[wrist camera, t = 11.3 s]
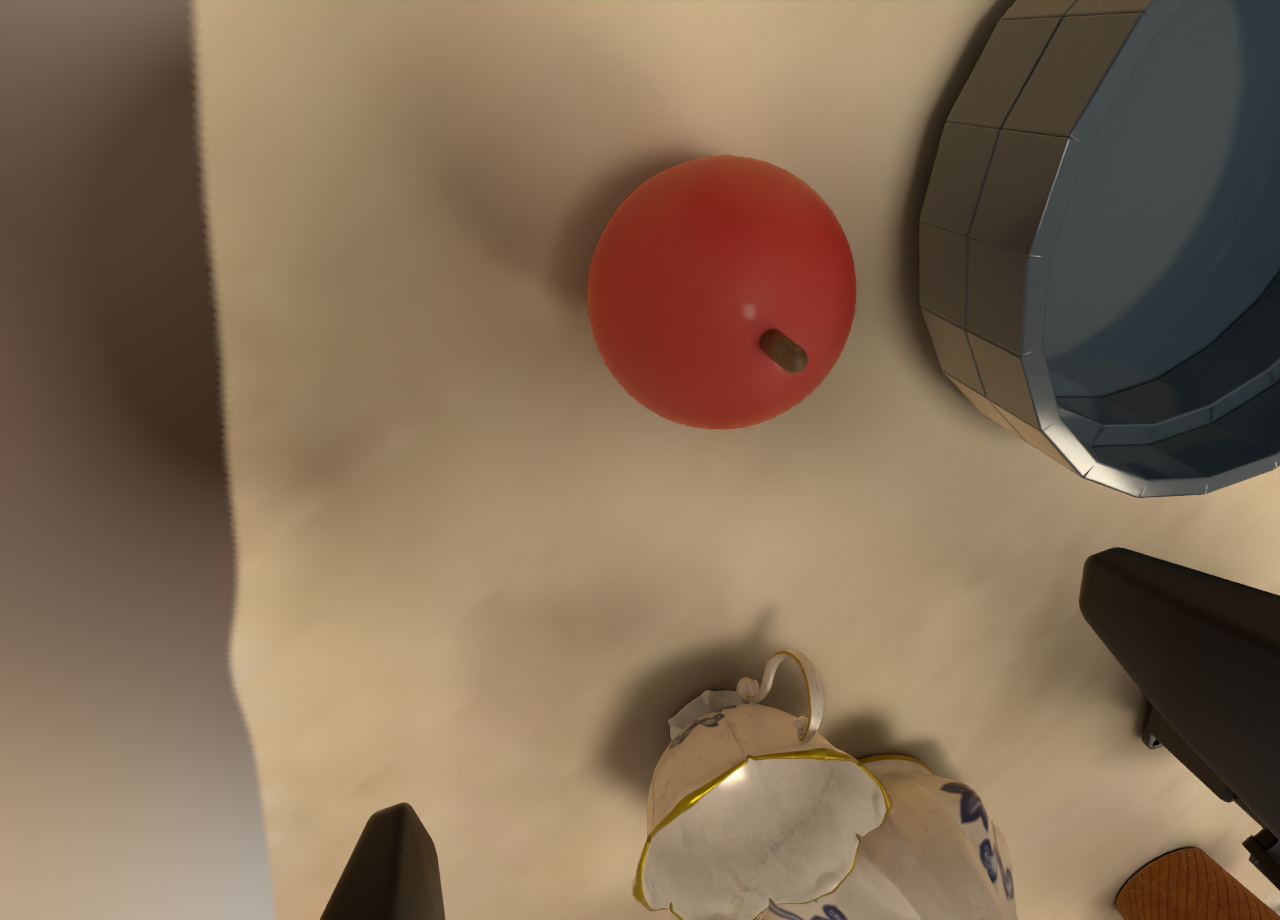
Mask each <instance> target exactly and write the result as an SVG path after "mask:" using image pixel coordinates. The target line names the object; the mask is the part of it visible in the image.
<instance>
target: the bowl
mask: <svg viewBox="0 0 1280 920" xmlns="http://www.w3.org/2000/svg"><path fill="white" fill-rule="evenodd" d="M946 121H947V122H945V124H944V128H943V132H942V136H941V139H940V143H939V147H938V151H937V154H936V158H935V162H934V166H933V169H932V173H931V177H930V181H929V185H928V188H927V192H926V196H925V200H924V203H923V207H922V211H921V215H920V221H919V298H920V308H921V311H922V314H923V317H924V319H925V322H926V325H927V328H928V331H929V334H930V336H931V339H932V342H933V345H934V348H935V351H936V353H937V356H938V359H939V362H940V365H941V368H942V370H943V372H944V373H945V375H946V376H947V377H948V378H949V379H950V380H951V381H952V382H953V383H954V384H955V385H956V386H957V387H958V388H959V389H960V391H961V392H962V393H963V394H964V395H965V396H966V397H967V398H968V399H969V400H970V401H971V402H972V403H973V404H974V405H975V406H976V408H977V409H978V410H979V411H980V412H981V413H982V414H984V415H985V416H987V417H988V418H990V419H991V420H993V421H994V422H996V423H998V424H999V425H1001V426H1002V427H1004V428H1005V429H1007V430H1008V431H1010V432H1012V433H1013V434H1015V435H1016V436H1018V437H1019V438H1021V439H1022V440H1024V441H1025V442H1027V443H1029V444H1030V445H1032V446H1033V447H1035V448H1037V449H1038V450H1040V451H1041V452H1043V453H1044V454H1046V455H1047V456H1049V457H1050V458H1052V459H1054V460H1055V461H1057V462H1058V463H1060V464H1061V465H1063V466H1064V467H1066V468H1067V469H1069V470H1071V471H1072V472H1074V473H1075V474H1077V475H1078V476H1080V477H1081V478H1084V479H1086V480H1089V481H1092V482H1095V483H1097V484H1100V485H1103V486H1106V487H1108V488H1111V489H1114V490H1117V491H1119V492H1122V493H1125V494H1127V495H1130V496H1133V497H1138V498H1146V497H1165V496H1184V495H1201V494H1207V493H1210V492H1213V491H1215V490H1218V489H1221V488H1224V487H1227V486H1230V485H1232V484H1235V483H1238V482H1241V481H1244V480H1247V479H1249V478H1252V477H1255V476H1258V475H1261V474H1264V473H1266V472H1269V471H1272V470H1274V469H1275V468H1277V467H1279V466H1280V0H1016V1H1015V2H1014V4H1013V5H1012V6H1011V7H1010V8H1009V9H1008V10H1007V11H1006V13H1005V14H1004V15H1003V16H1002V17H1001V19H1000V21H999V22H998V24H997V25H996V27H995V29H994V31H993V33H992V35H991V37H990V39H989V40H988V42H987V44H986V46H985V48H984V50H983V52H982V53H981V55H980V57H979V59H978V61H977V63H976V65H975V67H974V68H973V70H972V72H971V74H970V76H969V78H968V80H967V82H966V83H965V85H964V87H963V89H962V91H961V93H960V95H959V97H958V98H957V100H956V102H955V104H954V106H953V108H952V110H951V112H950V113H949V115H948V117H947V119H946Z"/></svg>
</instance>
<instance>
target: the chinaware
mask: <svg viewBox="0 0 1280 920" xmlns="http://www.w3.org/2000/svg"><path fill="white" fill-rule="evenodd" d="M786 658H792V659H793V660H795V661H796V663H797V664H798V665H799V667H800V669H801V671H802V673H803V676H804V679H805V683H806V687H807V694H808V706H809V719H807V718H805V717H803V716H799V717H798V718H797V717H795V716H793V715H791V714H789V713H786V712H784V711H782V710H779V709H776V708H772V707H768V706H764V705H759V704H757V703H758V702H760V701H762V700H764V699H765V698H766V697H767V695H768V694H769V692H770V689H771V687H772V683H773V679H774V675H775V672H776V669H777V667H778V665H779V664H780V663H781V662H782V661H783V660H784V659H786ZM823 711H824V694H823V689H822V685H821V682H820V679H819V676H818V674H817V672H816V670H815V668H814V666H813V665H812V663H811V662H810V661H809V660H808V658H807V657H806V656H804V655H803V654H802V653H800V652H798V651H796V650H790V649H783V650H779V651H777V652H775V653H774V654H773V655H772V656H771V657H770V658H769V660H768V662H767V664H766V667H765V670H764V675H763V681H762V685H761V688H760V689H759V684H758V682H757V681H756V680H751V679H750V678H747V677H743V678H742V679H741V680H740V681H739V682H738V684H737V687H736V692H735V691H724V690H723V691H711V690H706V691H704V692H703V693H702V695H700V696H699V697H697V698H696V699H694V700H692V701H691V702H690V703H688V704H687V705H686V706H685V707H683V708H682V709H681V710H680V711H679V712H678V713H677V714H676V715H675V716H674V717H672V718H670V719H669V720H668V724H669V725H670V736H671V740H672V741H671V743H670V744H669V745H668V747H667V748H666V750H665V751H664V753H663V754H662V756H661V758H660V760H659V762H658V764H657V766H656V769H655V771H654V775H653V778H652V781H651V785H650V790H649V795H648V805H647V826H648V833H647V841H646V843H645V846H644V848H643V851H642V853H641V856H640V859H639V862H638V865H637V870H636V876H635V878H634V880H633V885H632V891H633V896H634V897H635V899H636V900H637V901H639V902H641V903H642V904H643V905H644V906H645V907H646V908H647V909H648V910H650V911H656V910H662V909H668V908H669V906H670V911H671V912H672V913H673V914H674V915H675V916H677V917H678V918H679V919H680V920H754V919H755V918H756V917H757V916H758V915H760V914H761V913H762V918H763V920H1018V918H1017V911H1016V904H1015V894H1014V884H1013V874H1012V866H1011V859H1010V854H1009V849H1008V846H1007V843H1006V840H1005V838H1004V836H1003V834H1002V833H1001V831H1000V830H999V828H998V827H997V826H996V825H995V824H994V823H993V822H992V821H991V820H990V819H989V817H988V815H987V812H986V809H985V807H984V805H983V802H982V801H981V799H980V797H979V796H978V795H977V793H976V792H975V791H974V790H973V789H972V788H970V787H969V786H967V785H965V784H963V783H961V782H959V781H956V780H952V779H948V778H944V777H939V776H934V774H933V773H932V771H931V770H930V768H929V767H928V766H927V765H926V764H924V763H923V762H921V761H920V760H918V759H915V758H913V757H910V756H905V755H899V754H882V755H874V756H869V757H864V758H861V759H857V760H856V759H855V758H853V757H852V756H850V755H849V754H847V753H845V752H844V751H841V750H839V749H836V748H835V747H833V746H832V745H831V744H830V743H829V742H828V741H827V740H826V739H825V738H824V737H823V736H822V735H821V734H820V733H819V732H818V731H817V730H818V728H819V725H820V723H821V720H822V716H823Z"/></svg>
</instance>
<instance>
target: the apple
mask: <svg viewBox="0 0 1280 920" xmlns="http://www.w3.org/2000/svg"><path fill="white" fill-rule="evenodd" d="M587 298H588V314H589V320H590V325H591V330H592V333H593V336H594V339H595V342H596V345H597V347H598V350H599V352H600V354H601V356H602V358H603V360H604V362H605V364H606V366H607V367H608V369H609V370H610V372H611V373H612V375H613V376H614V378H615V379H616V380H617V381H618V383H619V384H620V385H621V386H622V387H623V388H624V389H625V390H626V391H627V392H628V393H629V395H631V396H632V397H633V398H634V399H636V400H637V401H638V402H639V403H640V404H642V405H643V406H645V407H646V408H648V409H649V410H651V411H653V412H654V413H656V414H658V415H660V416H661V417H664V418H666V419H669V420H671V421H673V422H677V423H680V424H683V425H687V426H691V427H695V428H703V429H734V428H742V427H747V426H751V425H755V424H759V423H761V422H764V421H766V420H769V419H772V418H774V417H776V416H778V415H780V414H782V413H783V412H785V411H787V410H789V409H790V408H792V407H794V406H795V405H797V404H798V403H800V402H801V401H802V400H803V399H804V398H806V397H807V396H808V395H809V394H811V393H812V392H813V390H814V389H815V388H816V387H817V386H818V385H819V384H820V383H821V382H822V381H823V380H824V378H825V377H826V376H827V375H828V373H829V372H830V371H831V369H832V368H833V366H834V364H835V363H836V361H837V360H838V358H839V356H840V354H841V352H842V350H843V348H844V345H845V343H846V340H847V337H848V335H849V332H850V329H851V325H852V321H853V317H854V312H855V304H856V278H855V269H854V261H853V257H852V254H851V250H850V246H849V244H848V241H847V239H846V236H845V234H844V232H843V230H842V228H841V225H840V224H839V222H838V220H837V219H836V217H835V215H834V214H833V212H832V210H831V209H830V208H829V207H828V206H827V204H826V203H825V202H824V201H823V200H822V198H821V197H820V196H819V195H818V194H817V193H816V192H815V191H814V190H812V189H811V188H810V187H809V186H808V185H807V184H806V183H805V182H803V181H802V180H800V179H799V178H797V177H796V176H794V175H792V174H791V173H789V172H787V171H785V170H783V169H781V168H779V167H777V166H774V165H772V164H770V163H768V162H764V161H760V160H756V159H752V158H746V157H737V156H709V157H704V158H699V159H693V160H690V161H687V162H684V163H681V164H678V165H675V166H672V167H670V168H668V169H666V170H664V171H662V172H660V173H658V174H656V175H655V176H653V177H652V178H650V179H649V180H647V181H646V182H644V183H643V184H642V185H640V186H639V187H638V188H637V189H636V190H635V191H634V192H632V193H631V194H630V195H629V196H628V197H627V198H626V199H625V201H624V202H623V203H622V204H621V205H620V206H619V207H618V209H617V210H616V211H615V213H614V214H613V216H612V217H611V219H610V220H609V222H608V223H607V225H606V226H605V228H604V231H603V233H602V235H601V237H600V239H599V241H598V243H597V246H596V249H595V252H594V255H593V258H592V262H591V267H590V272H589V279H588V293H587Z"/></svg>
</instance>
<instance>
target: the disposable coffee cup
mask: <svg viewBox="0 0 1280 920" xmlns="http://www.w3.org/2000/svg"><path fill="white" fill-rule="evenodd" d="M1116 908H1117V910H1118V911H1119V913H1120V914H1121V916H1122V917H1123V919H1124V920H1280V916H1279V915H1278V914H1276V913H1275V912H1274V911H1273V910H1272V909H1270V908H1269V907H1268V906H1267V905H1266V904H1264V903H1263V902H1262V901H1261V900H1260V899H1258V898H1257V897H1256V896H1255V895H1254V894H1253V893H1251V892H1250V891H1249V890H1248V889H1247V888H1245V887H1244V886H1243V885H1242V884H1241V883H1240V882H1238V881H1237V880H1236V879H1235V878H1234V877H1233V876H1231V875H1230V874H1229V873H1228V872H1227V871H1225V870H1224V869H1223V868H1222V867H1221V866H1220V865H1218V864H1217V863H1216V862H1215V861H1214V860H1212V859H1211V858H1210V857H1209V856H1208V855H1207V854H1206V853H1205V852H1203V851H1202V850H1200V849H1196V848H1188V849H1182V850H1179V851H1175V852H1172V853H1169V854H1167V855H1165V856H1163V857H1161V858H1159V859H1157V860H1155V861H1153V862H1151V863H1150V864H1148V865H1147V866H1146V867H1144V868H1143V869H1142V870H1141V871H1139V872H1138V873H1137V874H1136V875H1135V876H1133V877H1132V878H1131V879H1130V880H1129V881H1128V882H1127V883H1126V885H1125V886H1124V888H1123V889H1122V890H1121V892H1120V893H1119V895H1118V897H1117V901H1116Z"/></svg>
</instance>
